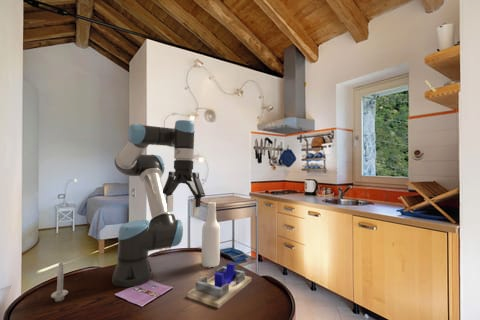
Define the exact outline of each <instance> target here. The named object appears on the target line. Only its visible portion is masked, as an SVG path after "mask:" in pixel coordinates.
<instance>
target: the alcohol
mask: <svg viewBox="0 0 480 320" xmlns="http://www.w3.org/2000/svg"><path fill="white" fill-rule="evenodd" d="M216 204H217V202H216V201H209V202H207V213H206V220H205V222H204V224H203V225H202V229H201V256H200V257H201V260H200V261H201V263H200V264H201V265H202V266H203V267H205V268H207V267H208V268H209V269H210V268H211V267H213V268H216V267H218V266H219V264H220V262H221V261H220V257H221V225H220V224H219V222H218V221H217V209H216V207H217V205H216ZM211 269H212V268H211Z"/></svg>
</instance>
